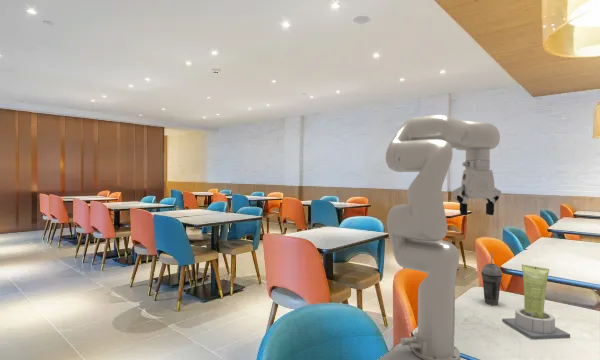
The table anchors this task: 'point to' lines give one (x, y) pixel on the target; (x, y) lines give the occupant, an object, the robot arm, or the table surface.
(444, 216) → the robot arm
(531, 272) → the tube
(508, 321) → the socket board
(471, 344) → the table surface
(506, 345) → the table surface
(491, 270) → the beverage cup
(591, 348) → the table surface
